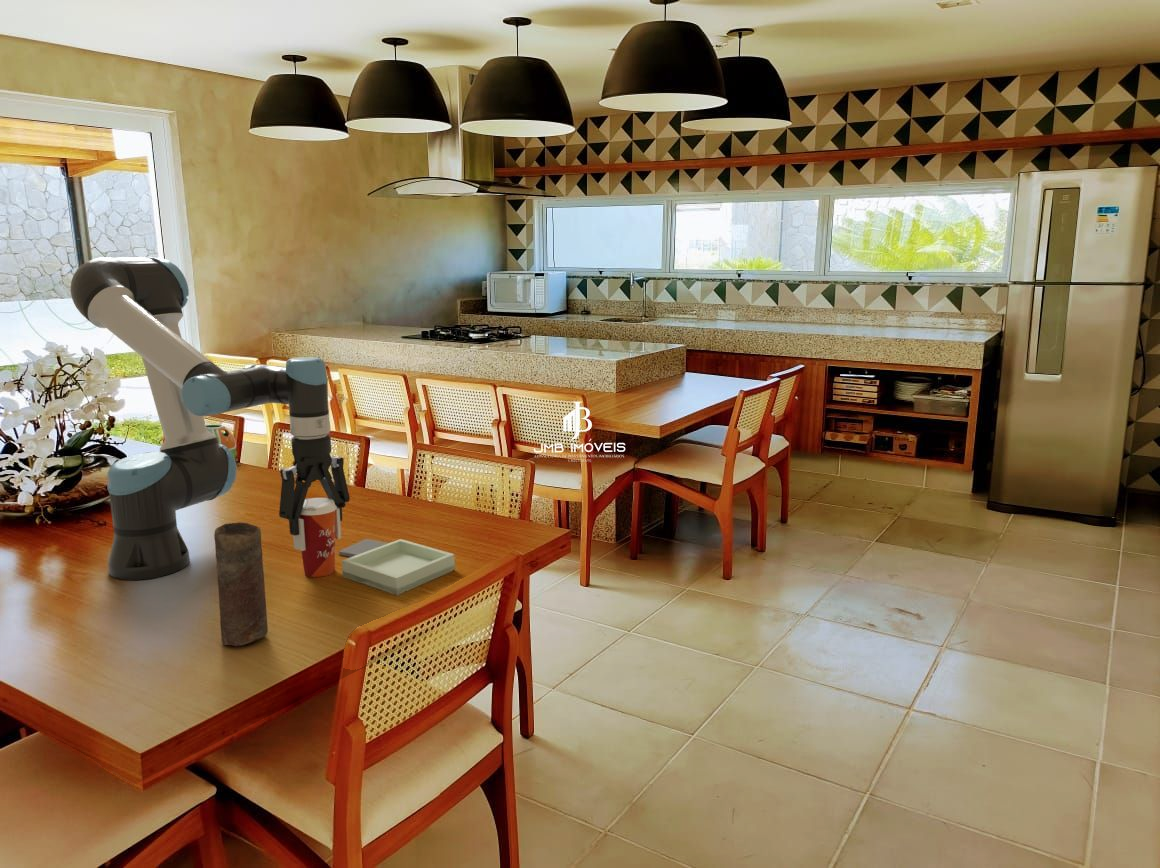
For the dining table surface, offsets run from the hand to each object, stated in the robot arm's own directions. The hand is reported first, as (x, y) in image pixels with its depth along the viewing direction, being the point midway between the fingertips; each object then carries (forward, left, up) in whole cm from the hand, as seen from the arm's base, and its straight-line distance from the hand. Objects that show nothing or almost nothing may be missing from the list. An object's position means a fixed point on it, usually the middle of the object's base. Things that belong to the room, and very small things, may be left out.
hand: (318, 542), depth 170 cm
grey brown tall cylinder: (-27, -15, -6) cm, 32 cm away
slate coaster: (+14, +1, -6) cm, 15 cm away
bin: (+9, -14, -6) cm, 18 cm away
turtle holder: (+38, +102, -7) cm, 109 cm away
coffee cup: (0, 0, -6) cm, 6 cm away
